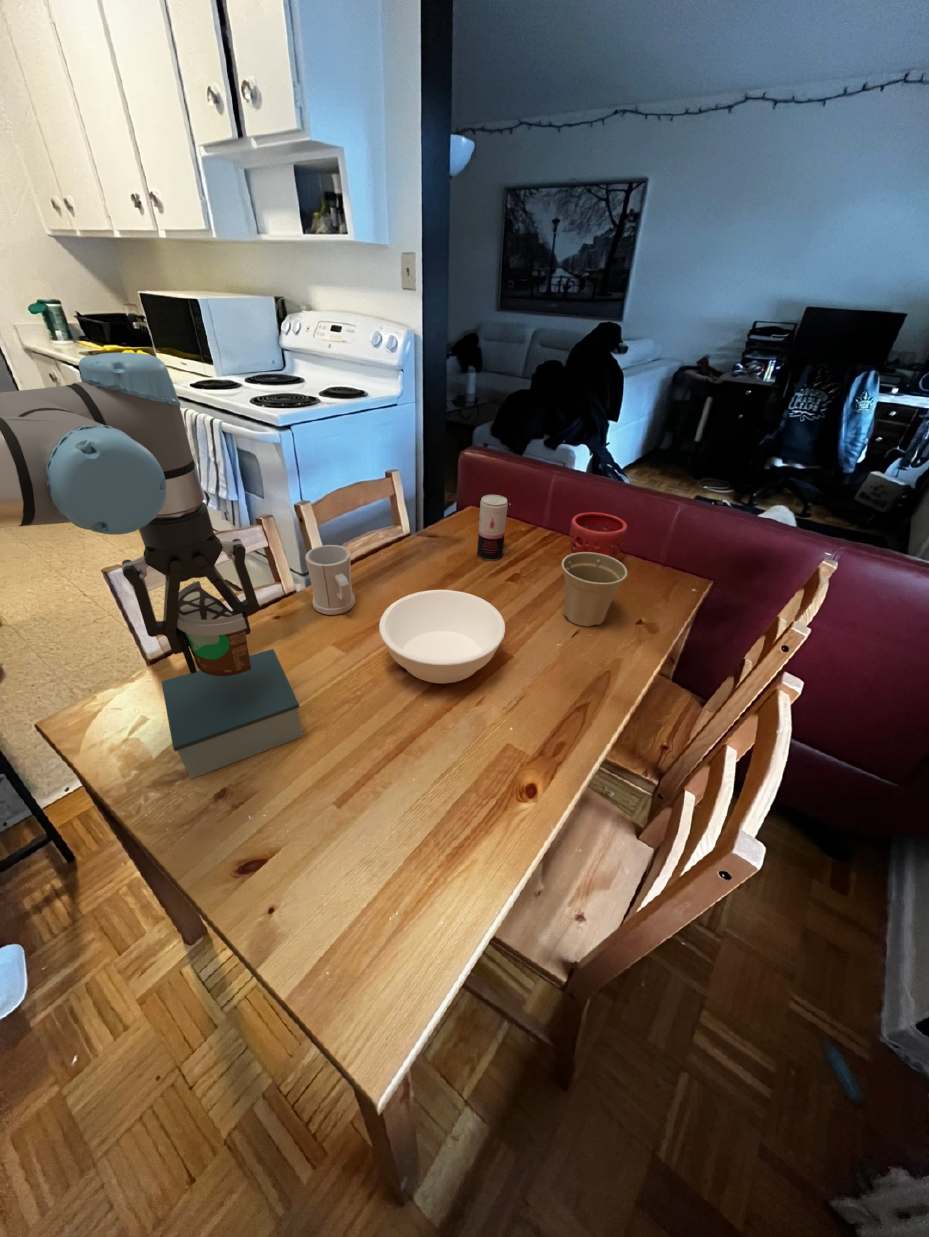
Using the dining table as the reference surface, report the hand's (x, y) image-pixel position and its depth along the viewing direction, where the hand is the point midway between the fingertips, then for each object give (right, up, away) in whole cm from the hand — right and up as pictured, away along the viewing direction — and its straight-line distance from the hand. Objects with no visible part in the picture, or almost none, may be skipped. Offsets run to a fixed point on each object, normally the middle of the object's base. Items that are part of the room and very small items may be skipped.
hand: (218, 659), depth 71 cm
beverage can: (+41, +22, +58) cm, 74 cm away
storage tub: (-1, -11, +8) cm, 14 cm away
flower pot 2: (+61, +6, +37) cm, 71 cm away
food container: (-1, -1, 0) cm, 1 cm away
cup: (+8, +9, +36) cm, 38 cm away
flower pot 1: (+67, +19, +56) cm, 89 cm away
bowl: (+31, -2, +23) cm, 38 cm away
